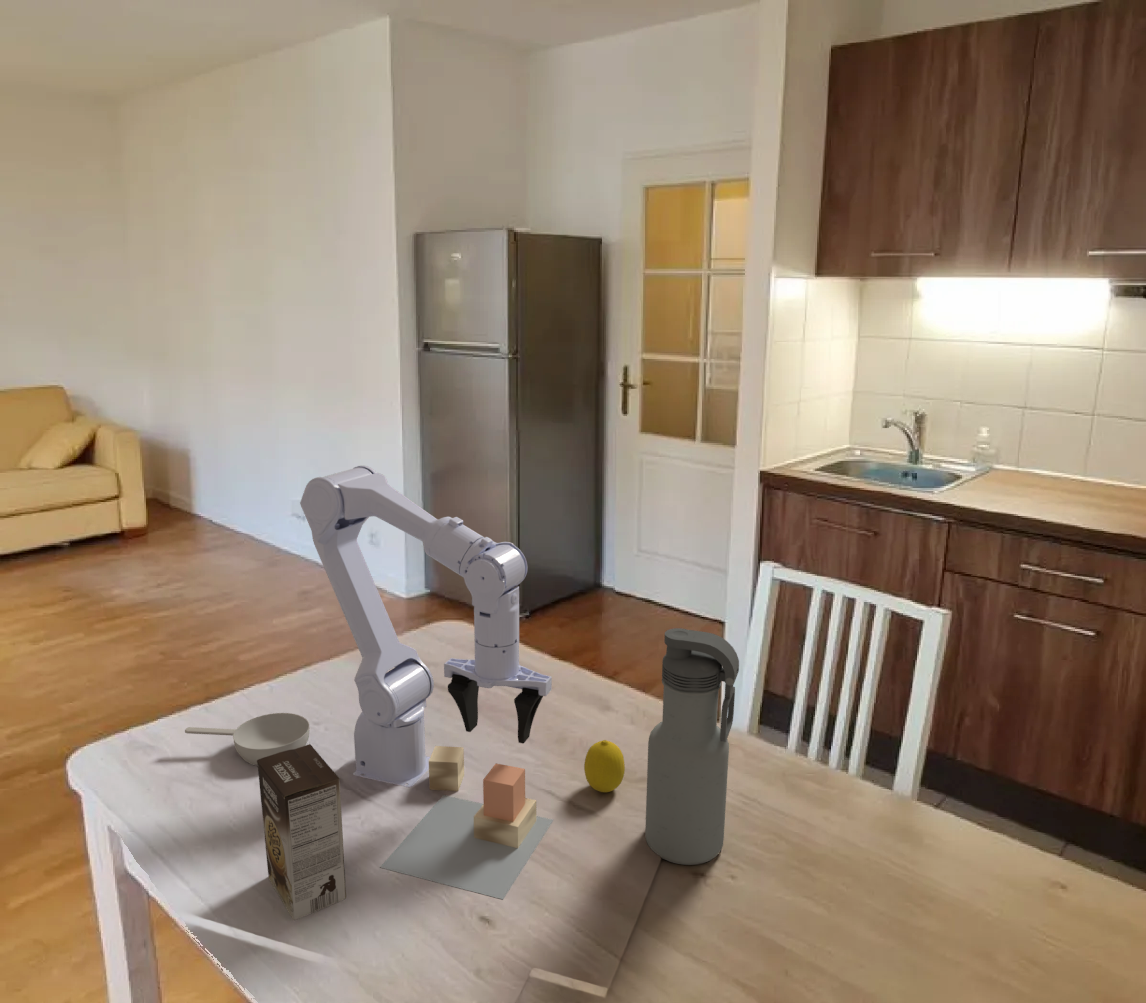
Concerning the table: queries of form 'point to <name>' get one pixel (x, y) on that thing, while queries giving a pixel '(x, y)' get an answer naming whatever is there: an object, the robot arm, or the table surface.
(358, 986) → the table surface
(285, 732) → the small pan
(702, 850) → the water bottle
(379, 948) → the table surface
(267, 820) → the coffee box
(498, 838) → the block
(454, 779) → the birch block
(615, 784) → the lemon
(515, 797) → the terracotta block
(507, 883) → the board
